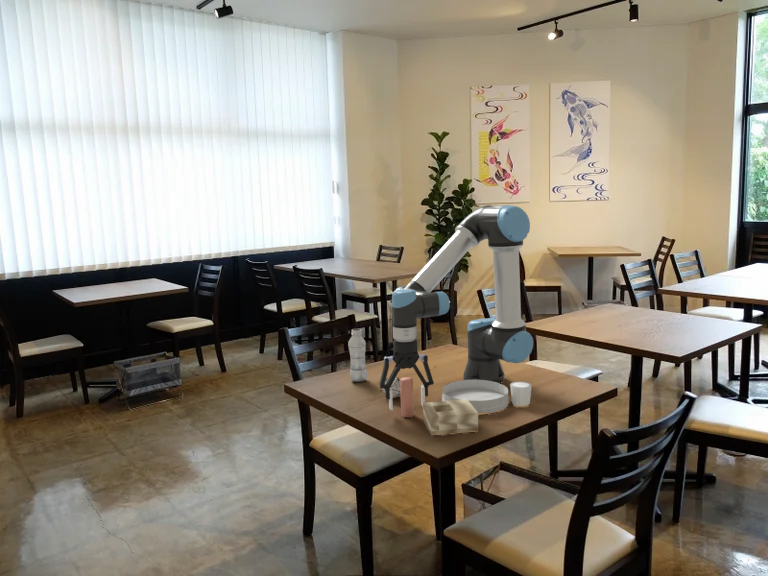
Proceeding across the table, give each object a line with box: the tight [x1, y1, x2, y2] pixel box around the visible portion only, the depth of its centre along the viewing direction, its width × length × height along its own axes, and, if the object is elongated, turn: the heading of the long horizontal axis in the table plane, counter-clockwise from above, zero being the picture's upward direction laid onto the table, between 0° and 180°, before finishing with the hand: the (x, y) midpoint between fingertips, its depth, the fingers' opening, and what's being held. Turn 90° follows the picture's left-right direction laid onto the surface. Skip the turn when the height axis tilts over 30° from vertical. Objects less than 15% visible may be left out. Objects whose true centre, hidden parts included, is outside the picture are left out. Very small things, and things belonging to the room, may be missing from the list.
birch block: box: [422, 399, 479, 436], centre depth 184 cm, size 14×12×6 cm
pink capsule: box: [399, 376, 415, 418], centre depth 194 cm, size 4×4×12 cm
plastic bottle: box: [347, 328, 368, 383], centre depth 230 cm, size 6×7×20 cm
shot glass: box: [509, 381, 533, 406], centre depth 200 cm, size 7×7×7 cm
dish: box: [441, 379, 510, 413], centre depth 203 cm, size 22×22×5 cm
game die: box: [379, 376, 401, 400], centre depth 210 cm, size 9×8×10 cm
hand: (407, 407), depth 194 cm, fingers open, 10 cm apart
